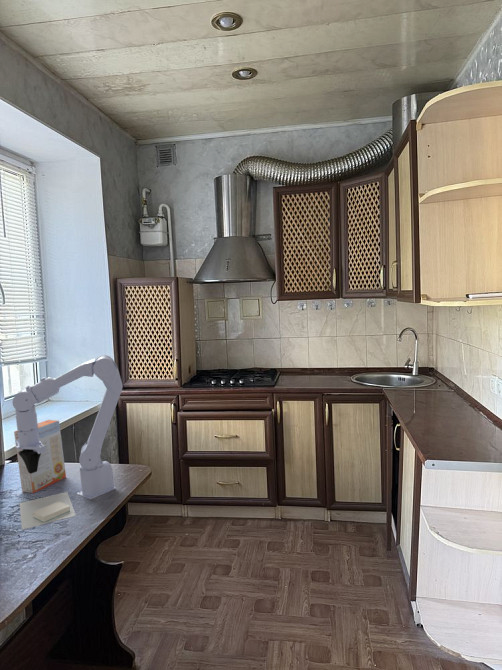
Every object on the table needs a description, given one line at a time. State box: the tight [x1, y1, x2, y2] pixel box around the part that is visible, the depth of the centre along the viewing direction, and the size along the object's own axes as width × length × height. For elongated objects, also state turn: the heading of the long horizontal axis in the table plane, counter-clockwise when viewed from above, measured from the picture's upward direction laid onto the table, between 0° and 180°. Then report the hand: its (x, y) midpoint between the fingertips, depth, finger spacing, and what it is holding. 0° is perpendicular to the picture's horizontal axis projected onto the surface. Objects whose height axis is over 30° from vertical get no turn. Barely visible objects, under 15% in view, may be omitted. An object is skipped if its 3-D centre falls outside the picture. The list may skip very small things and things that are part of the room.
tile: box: [33, 502, 70, 522], centre depth 139 cm, size 8×2×6 cm
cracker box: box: [13, 419, 67, 494], centre depth 162 cm, size 14×6×21 cm, turn 154°
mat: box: [19, 491, 77, 530], centre depth 143 cm, size 20×14×1 cm
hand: (32, 472), depth 148 cm, fingers closed
